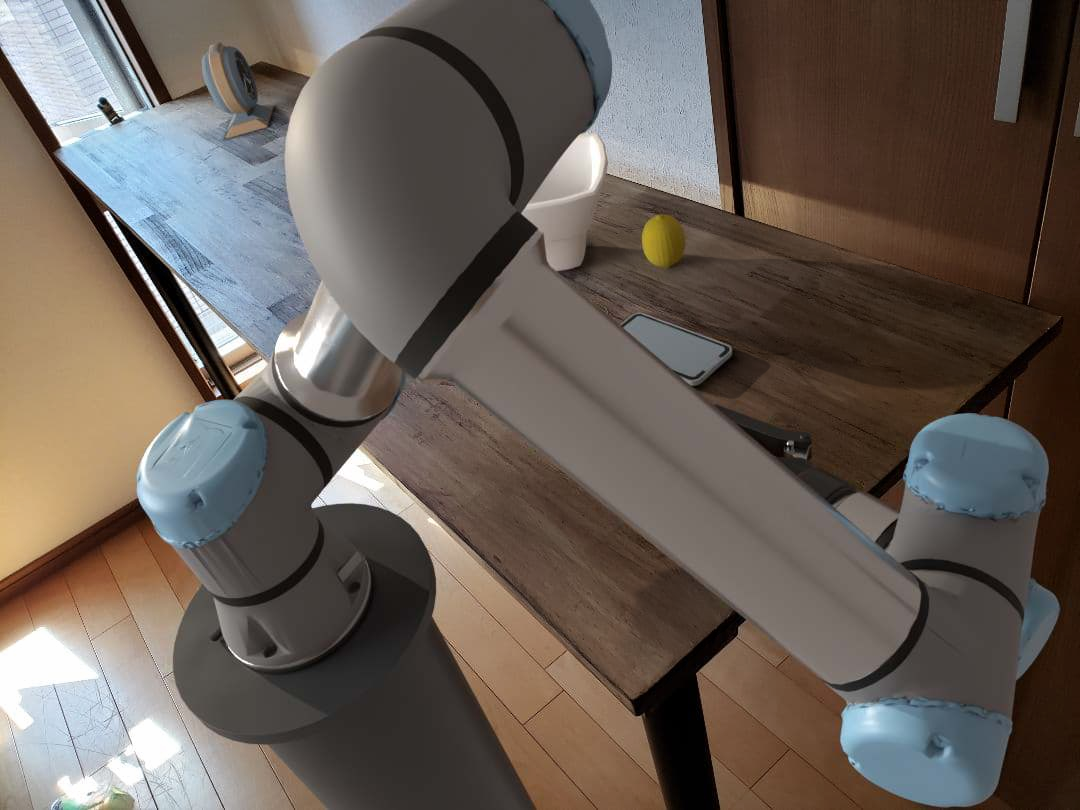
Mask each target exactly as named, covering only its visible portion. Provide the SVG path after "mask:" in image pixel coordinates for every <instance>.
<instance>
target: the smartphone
mask: <svg viewBox="0 0 1080 810" xmlns="http://www.w3.org/2000/svg"><path fill="white" fill-rule="evenodd" d="M619 325H620V326H622V327H623V328H624V329H625V330H626V331H627V332H629V333H630V334H631V335H632V336H633V337H634V338H636V339H637V340H638V341H639V342H640V343H642V344H643V345H644V346H645V347H646V348H647V349H649V350H650V351H651V352H652V353H653V354H654V355H656V356H657V357H658V358H659V359H660V360H662V361H663V362H664V363H665V364H666V365H667V366H669V367H670V368H671V369H672V370H673V371H674V372H676V373H677V374H678V375H679V376H680V377H681V378H683V379H684V380H685V381H686V382H687V383H689V384H690V385H691V386H692V387H693V386H698V385H701V384H702V383H703V382H705V381H706V380H707V379H708V378H709V377H710V376H711V375H712V374H713V373H715V371H717V370H718V369H719V368H720V367H721V366H722V365H724V364H725V363H726V362H727V361H728V360H729V359H730V358H731V357H732V356H733V348H732V347H731V345H729V344H727V343H724V342H722V341H719V340H716V339H713V338H712V337H709V336H705V335H703V334H700V333H697V332H694V331H692V330H689V329H687V328H683V327H681V326H679V325H676V324H673V323H671V322H667V321H665V320H663V319H660V318H658V317H654V316H652V315H649V314H646V313H644V312H635V313H633V314H632V315H630V316H629V317H628V318H626V319H625V320H624V321H623V322H622V323H619Z"/></svg>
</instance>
